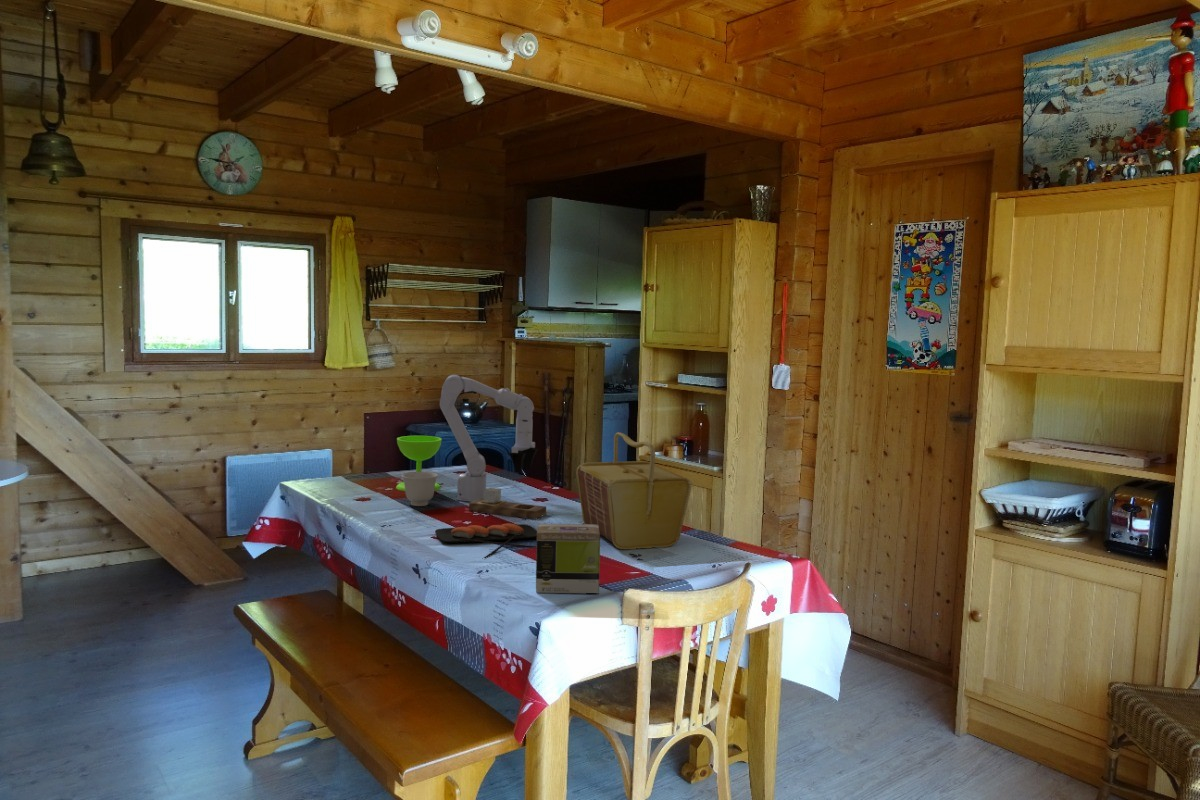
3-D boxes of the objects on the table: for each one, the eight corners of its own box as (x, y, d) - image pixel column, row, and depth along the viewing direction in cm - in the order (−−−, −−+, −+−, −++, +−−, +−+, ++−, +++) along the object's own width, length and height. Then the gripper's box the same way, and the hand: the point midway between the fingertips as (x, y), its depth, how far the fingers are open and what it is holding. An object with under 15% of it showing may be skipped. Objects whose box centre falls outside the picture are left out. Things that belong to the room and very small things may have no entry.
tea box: (597, 582, 213) (600, 523, 211) (598, 595, 203) (601, 533, 201) (536, 580, 212) (538, 521, 211) (534, 593, 202) (536, 531, 201)
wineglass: (392, 484, 321) (392, 436, 319) (434, 482, 327) (435, 435, 326) (401, 493, 306) (402, 442, 304) (445, 490, 313) (446, 441, 311)
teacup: (444, 499, 298) (445, 471, 297) (431, 509, 283) (432, 479, 282) (410, 497, 299) (410, 469, 298) (395, 507, 284) (396, 477, 283)
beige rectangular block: (483, 510, 284) (484, 489, 283) (489, 508, 287) (490, 487, 287) (494, 512, 282) (495, 491, 282) (500, 509, 286) (500, 489, 285)
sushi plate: (528, 529, 263) (528, 517, 263) (559, 556, 236) (559, 542, 235) (432, 535, 253) (432, 522, 253) (453, 563, 225) (453, 549, 225)
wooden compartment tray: (469, 510, 283) (469, 502, 283) (480, 505, 291) (481, 497, 290) (535, 519, 275) (535, 510, 275) (546, 514, 282) (546, 505, 282)
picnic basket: (572, 528, 265) (575, 431, 262) (649, 524, 275) (653, 430, 272) (606, 553, 238) (610, 446, 235) (690, 548, 247) (696, 444, 244)
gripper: (525, 435, 291) (524, 475, 293) (543, 430, 305) (542, 468, 306) (506, 433, 294) (505, 473, 295) (525, 428, 307) (524, 466, 309)
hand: (522, 470), depth 301 cm, fingers open, 7 cm apart
